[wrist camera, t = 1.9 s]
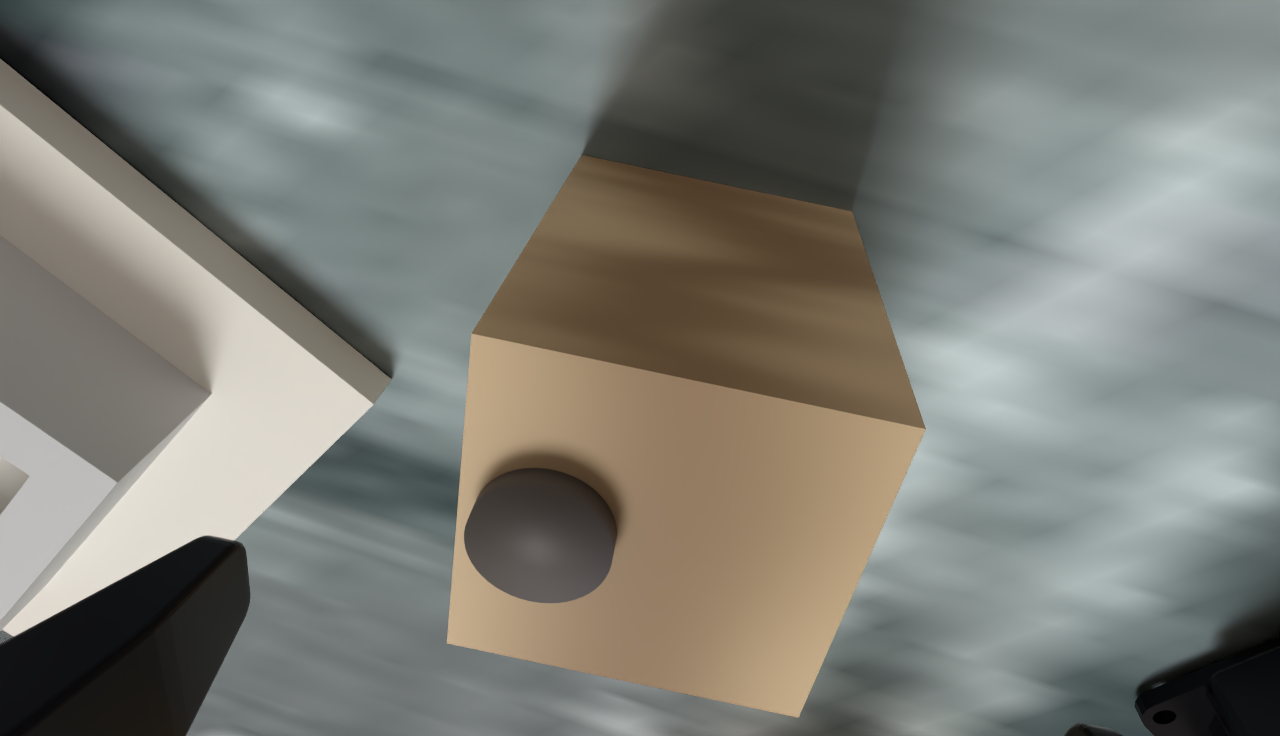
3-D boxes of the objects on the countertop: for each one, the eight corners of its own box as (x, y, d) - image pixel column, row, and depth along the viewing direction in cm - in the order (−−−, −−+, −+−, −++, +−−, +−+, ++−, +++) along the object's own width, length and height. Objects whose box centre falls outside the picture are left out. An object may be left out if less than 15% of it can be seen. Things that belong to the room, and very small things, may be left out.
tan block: (851, 210, 15) (933, 451, 8) (779, 431, 17) (800, 743, 11) (581, 154, 15) (460, 351, 8) (549, 383, 17) (437, 666, 11)
